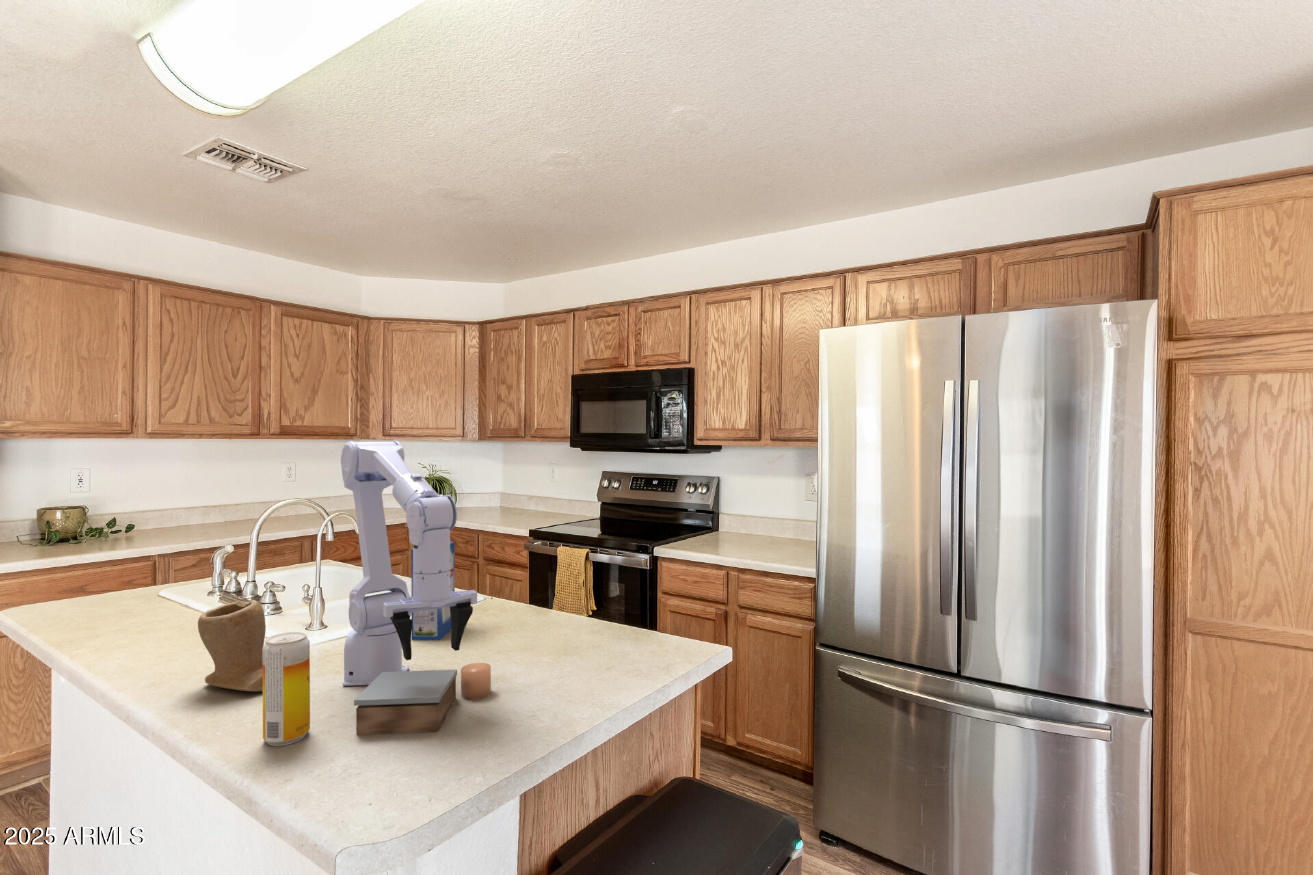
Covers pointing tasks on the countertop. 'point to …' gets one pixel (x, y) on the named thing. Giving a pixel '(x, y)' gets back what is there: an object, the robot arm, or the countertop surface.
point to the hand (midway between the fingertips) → (431, 653)
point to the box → (404, 716)
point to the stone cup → (235, 644)
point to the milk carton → (433, 611)
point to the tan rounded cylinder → (475, 681)
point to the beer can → (286, 688)
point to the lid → (407, 687)
